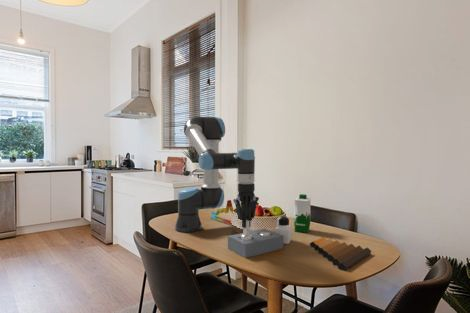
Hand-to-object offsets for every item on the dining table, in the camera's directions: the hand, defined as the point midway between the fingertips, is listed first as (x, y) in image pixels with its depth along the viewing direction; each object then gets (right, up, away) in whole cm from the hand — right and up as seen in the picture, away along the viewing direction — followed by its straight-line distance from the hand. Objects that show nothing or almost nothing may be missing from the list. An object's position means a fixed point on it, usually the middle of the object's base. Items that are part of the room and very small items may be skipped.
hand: (246, 234), depth 137 cm
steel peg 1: (0, -5, 0) cm, 5 cm away
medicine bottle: (+19, -7, +14) cm, 25 cm away
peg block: (+4, -8, +4) cm, 9 cm away
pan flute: (+38, -9, -4) cm, 39 cm away
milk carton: (+33, -7, +33) cm, 47 cm away
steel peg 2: (+9, -6, +6) cm, 13 cm away
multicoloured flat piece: (-11, -6, +49) cm, 51 cm away
